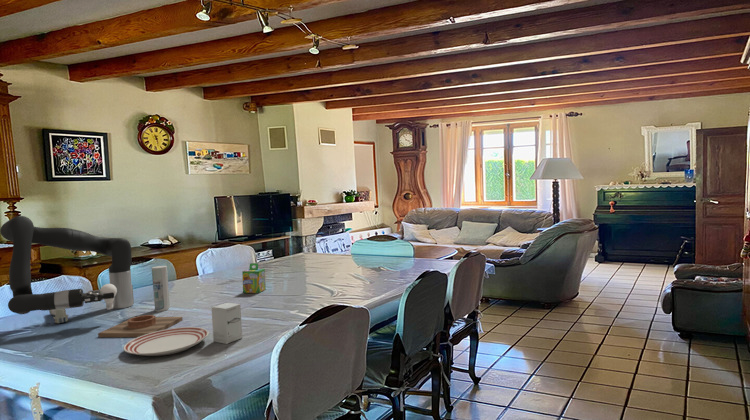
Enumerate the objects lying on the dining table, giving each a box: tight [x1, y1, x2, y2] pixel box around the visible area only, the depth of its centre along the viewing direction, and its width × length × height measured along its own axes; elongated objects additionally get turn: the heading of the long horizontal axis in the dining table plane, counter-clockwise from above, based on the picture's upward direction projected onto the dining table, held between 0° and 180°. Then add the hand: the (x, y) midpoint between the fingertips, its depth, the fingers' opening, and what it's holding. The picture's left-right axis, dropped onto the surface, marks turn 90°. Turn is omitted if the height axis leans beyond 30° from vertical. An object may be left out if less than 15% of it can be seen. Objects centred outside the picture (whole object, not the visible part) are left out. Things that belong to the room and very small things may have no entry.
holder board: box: [97, 314, 183, 338], centre depth 194 cm, size 22×22×4 cm
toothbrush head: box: [48, 309, 69, 324], centre depth 217 cm, size 5×7×25 cm
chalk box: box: [241, 262, 267, 294], centre depth 254 cm, size 9×9×15 cm
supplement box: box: [211, 302, 243, 345], centre depth 173 cm, size 7×7×13 cm
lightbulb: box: [99, 283, 117, 311], centre depth 204 cm, size 6×6×11 cm
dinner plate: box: [123, 326, 210, 357], centre depth 169 cm, size 27×27×3 cm
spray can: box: [151, 265, 171, 312], centre depth 224 cm, size 6×6×20 cm
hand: (114, 293), depth 205 cm, fingers closed on lightbulb, 6 cm apart
